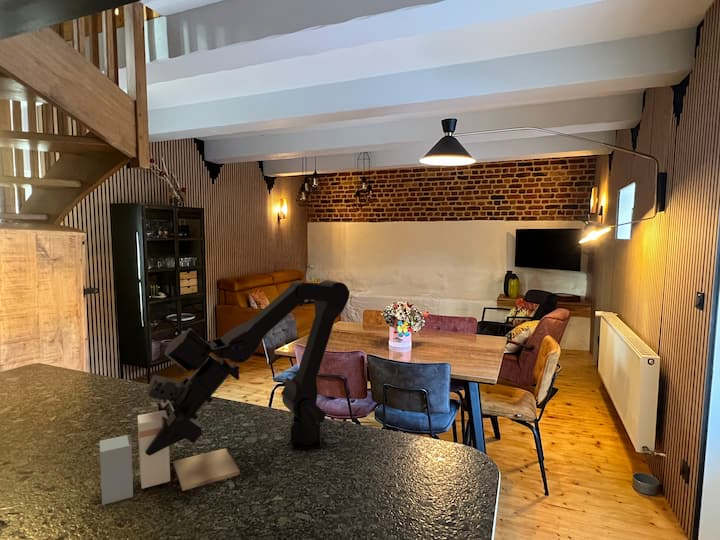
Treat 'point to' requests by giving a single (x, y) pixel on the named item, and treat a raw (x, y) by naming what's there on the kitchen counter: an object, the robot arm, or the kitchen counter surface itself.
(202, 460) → the coaster
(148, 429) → the beige upright block
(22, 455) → the kitchen counter surface
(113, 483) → the ticket block
